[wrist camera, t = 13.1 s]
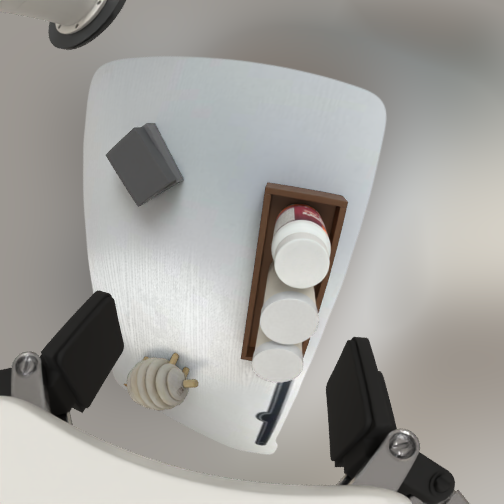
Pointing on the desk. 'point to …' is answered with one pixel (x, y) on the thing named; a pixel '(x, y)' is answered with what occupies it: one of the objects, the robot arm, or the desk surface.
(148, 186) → the grey books
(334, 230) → the tray
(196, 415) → the desk surface
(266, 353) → the white bottle
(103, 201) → the desk surface
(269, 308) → the white bottle
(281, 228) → the pill bottle
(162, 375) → the toy sheep
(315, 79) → the desk surface
